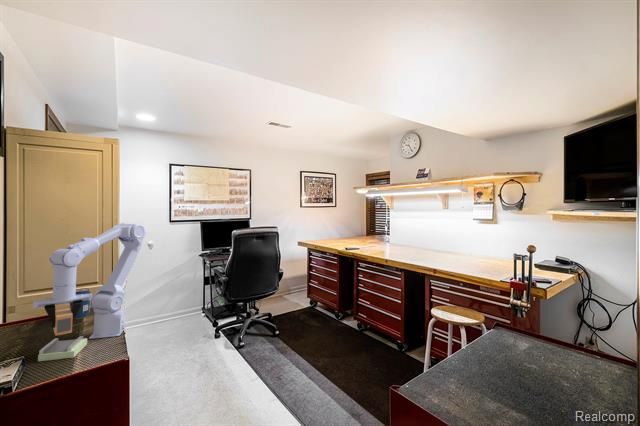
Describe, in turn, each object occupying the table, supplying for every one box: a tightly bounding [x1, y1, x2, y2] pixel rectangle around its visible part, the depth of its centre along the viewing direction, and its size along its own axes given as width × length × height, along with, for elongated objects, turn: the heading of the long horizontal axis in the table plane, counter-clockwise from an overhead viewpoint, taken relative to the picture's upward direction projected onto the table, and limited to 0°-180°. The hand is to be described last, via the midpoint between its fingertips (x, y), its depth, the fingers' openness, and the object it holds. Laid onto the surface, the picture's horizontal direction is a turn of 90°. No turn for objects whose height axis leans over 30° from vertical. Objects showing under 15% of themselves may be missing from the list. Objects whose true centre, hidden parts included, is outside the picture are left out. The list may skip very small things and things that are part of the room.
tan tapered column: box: [52, 307, 73, 337], centre depth 94 cm, size 4×9×6 cm, turn 47°
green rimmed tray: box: [37, 335, 88, 362], centre depth 94 cm, size 9×10×3 cm
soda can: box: [69, 287, 92, 320], centre depth 125 cm, size 7×7×12 cm
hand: (62, 325), depth 94 cm, fingers closed on tan tapered column, 4 cm apart
